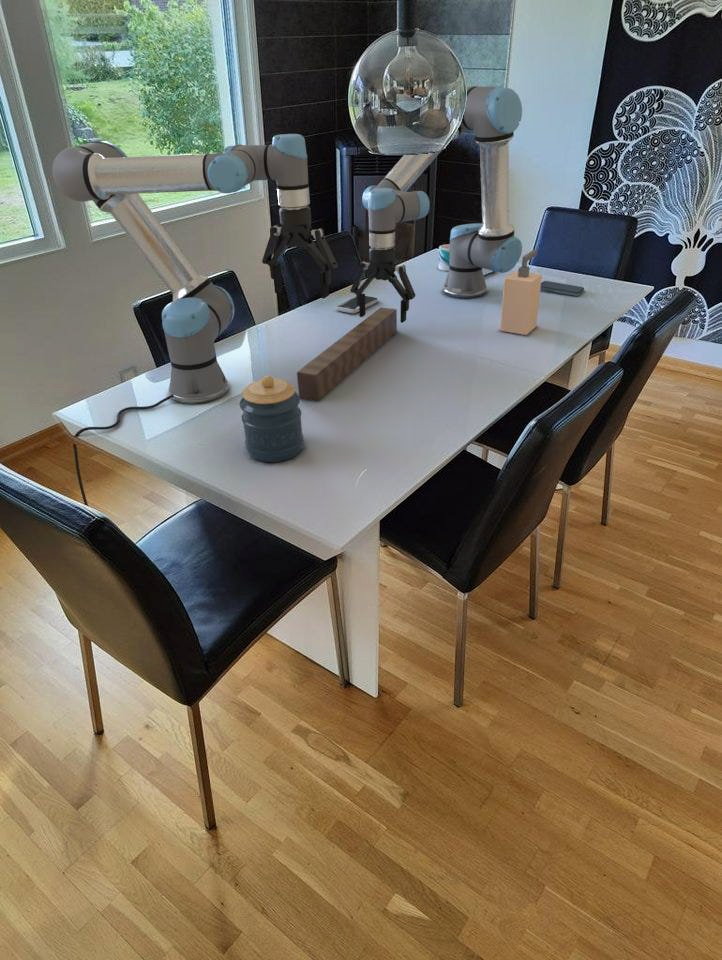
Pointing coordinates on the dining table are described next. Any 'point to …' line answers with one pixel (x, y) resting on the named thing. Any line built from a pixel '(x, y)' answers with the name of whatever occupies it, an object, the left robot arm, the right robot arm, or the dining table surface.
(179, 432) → the dining table surface
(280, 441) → the canister
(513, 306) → the soap dispenser
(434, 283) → the dining table surface
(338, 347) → the post
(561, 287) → the smartphone
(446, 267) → the mug
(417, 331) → the dining table surface
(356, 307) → the smartphone
